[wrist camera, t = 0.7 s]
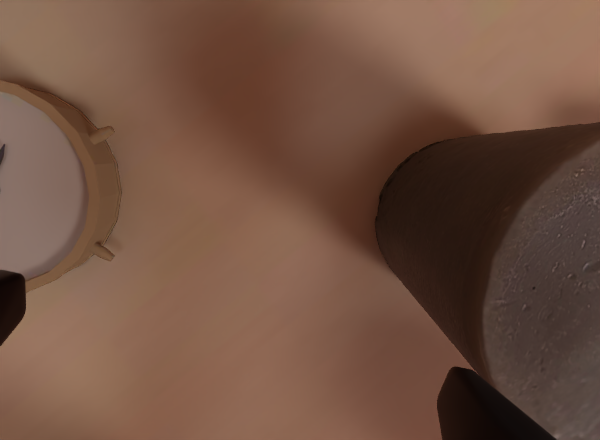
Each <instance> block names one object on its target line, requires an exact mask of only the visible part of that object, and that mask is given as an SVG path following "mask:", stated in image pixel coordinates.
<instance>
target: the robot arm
mask: <svg viewBox="0 0 600 440" xmlns="http://www.w3.org/2000/svg"><path fill="white" fill-rule="evenodd" d="M25 310H26V282H25V278H24V276H23V275H22V274H20V273H16V272H11V271H7V270H0V346H1V345H2V344H3V342H4V341H5V340H6V339H7V337H8V336H9V335H10V334H11V333H12V331H13V330H14V329H15V328H16V326H17V325H18V324H19V323H20V321H21V320H22V318H23V317H24V314H25ZM437 410H438V416H439V422H440V428H441V434H442V440H557V439H556V438H555V437H553V436H552V435H551V434H550V433H549V432H547V431H546V430H545V429H544V428H542V427H541V426H540V425H539V424H538V423H536V422H535V421H534V420H533V419H532V418H530V417H529V416H528V415H527V414H525V413H524V412H523V411H522V410H521V409H519V408H518V407H517V406H516V405H515V404H513V403H512V402H511V401H510V400H508V399H507V398H506V397H505V396H504V395H502V394H501V393H500V392H499V391H498V390H496V389H495V388H494V387H493V386H491V385H490V384H489V383H488V382H487V381H485V380H484V379H483V378H482V377H481V376H479V375H478V374H477V373H476V372H474V371H473V370H470V369H466V368H461V367H452V368H451V369H450V370H449V372H448V374H447V377H446V379H445V381H444V384H443V386H442V388H441V391H440V393H439V396H438V400H437Z"/></svg>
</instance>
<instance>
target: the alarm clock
mask: <svg viewBox="0 0 600 440" xmlns="http://www.w3.org/2000/svg"><path fill="white" fill-rule="evenodd" d="M114 132H115V131H114V129H113V128H112V127H111V126H108V127H104V128H101V129H97V128H96V127H95V126H94V125H93V124H92V123H91V122H90V121H89V120H88V119H87V117H86V116H85V115H84V114H83V113H82V112H81V111H80V110H78V109H76V108H75V107H73V106H71V105H69V104H68V103H66V102H64V101H63V100H61V99H59V98H57V97H56V96H54V95H52V94H50V93H46V92H42V91H38V90H34V89H30V88H26V87H23V86H21V85H17V84H13V83H9V82H5V81H1V80H0V270H7V271H11V272H16V273H20V274H22V275H23V276H24V278H25V282H26V292H28V291H31V290H33V289H36V288H38V287H40V286H43V285H45V284H47V283H50V282H52V281H54V280H56V279H58V278H59V277H60V276H62V275H63V274H65V273H66V272H68V271H70V270H71V269H73V268H76V267H78V266H80V265H82V264H83V263H84V262H85V261H86V260H88V259H89V258H90V257H91V256H92V255H93V254H95V255H97V256H98V257H100V258H103V259H105V260H108V261H111V260H112V259H113V257H114V256H115V255H113V254H112V253H111V252H110V251H109V250H108V249H107V248H105V247H103V245H104V243H105V242H106V240H107V238H108V236H109V234H110V233H111V231H112V229H113V227H114V225H115V224H116V222H117V218H118V212H119V206H120V200H121V194H122V191H121V185H120V179H119V172H118V166H117V162H116V160H115V158H114V156H113V154H112V152H111V150H110V148H109V146H108V144H107V142H106V140H105V139H107V138H108V137H109V136H111V135H112V134H113V133H114Z"/></svg>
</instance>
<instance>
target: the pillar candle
mask: <svg viewBox="0 0 600 440" xmlns="http://www.w3.org/2000/svg"><path fill="white" fill-rule="evenodd" d="M379 199H380V203H379V207H378V214H377V216H376V221H375V227H376V235H377V240H378V244H379V247H380V250H381V252H382V254H383V256H384V258H385V260H386V262H387V264H388V265H389V267H390V268H391V270H392V271H393V272H394V273H395V274H396V276H397V277H398V278H399V279H400V280H401V281H402V283H403V284H404V286H405V287H406V288H407V289H408V290H409V291H410V293H411V294H412V295H413V296H414V298H415V299H416V300H417V301H418V302H419V304H420V305H421V306H422V307H423V308H424V310H425V311H426V312H427V313H428V314H429V316H430V317H431V318H432V319H433V320H434V322H435V323H436V324H437V325H438V326H439V328H440V329H441V330H442V331H443V332H444V334H445V335H446V336H447V337H448V338H449V340H450V341H451V342H452V343H453V344H454V345H455V347H456V348H457V349H458V350H459V352H460V353H461V354H462V355H463V357H464V358H465V359H466V360H467V361H468V363H469V364H470V365H471V366H472V367H473V369H474V370H475V371H476V372H477V373H478V374H479V375H480V376H481V377H482V378H483V379H484V380H485V381H487V382H488V383H489V384H490V385H491V386H493V387H494V388H495V389H496V390H498V391H499V392H500V393H501V394H502V395H504V396H505V397H506V398H507V399H508V400H510V401H511V402H512V403H513V404H515V405H516V406H517V407H518V408H519V409H521V410H522V411H523V412H524V413H525V414H527V415H528V416H529V417H530V418H532V419H533V420H534V421H535V422H536V423H538V424H539V425H540V426H541V427H542V428H544V429H545V430H546V431H547V432H549V433H550V434H551V435H552V436H553V437H555V438H556V439H557V440H600V123H591V124H578V125H568V126H561V127H551V128H545V129H535V130H523V131H513V132H506V133H492V134H487V135H475V136H470V137H463V138H458V139H449V140H444V141H442V142H436V143H434V144H431V145H429V146H426V147H424V148H422V149H421V150H419V152H415V153H413V154H412V155H410V156H409V157H408V158H407V159H406V160H405V161H404V162H402V163H401V164H400V165H399V166H398V167H397V169H396V170H395V171H394V172H393V174H392V175H391V176H390V177H389V179H388V180H387V182H386V184H385V185H384V187H383V189H382V191H381V194H380V197H379Z"/></svg>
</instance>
